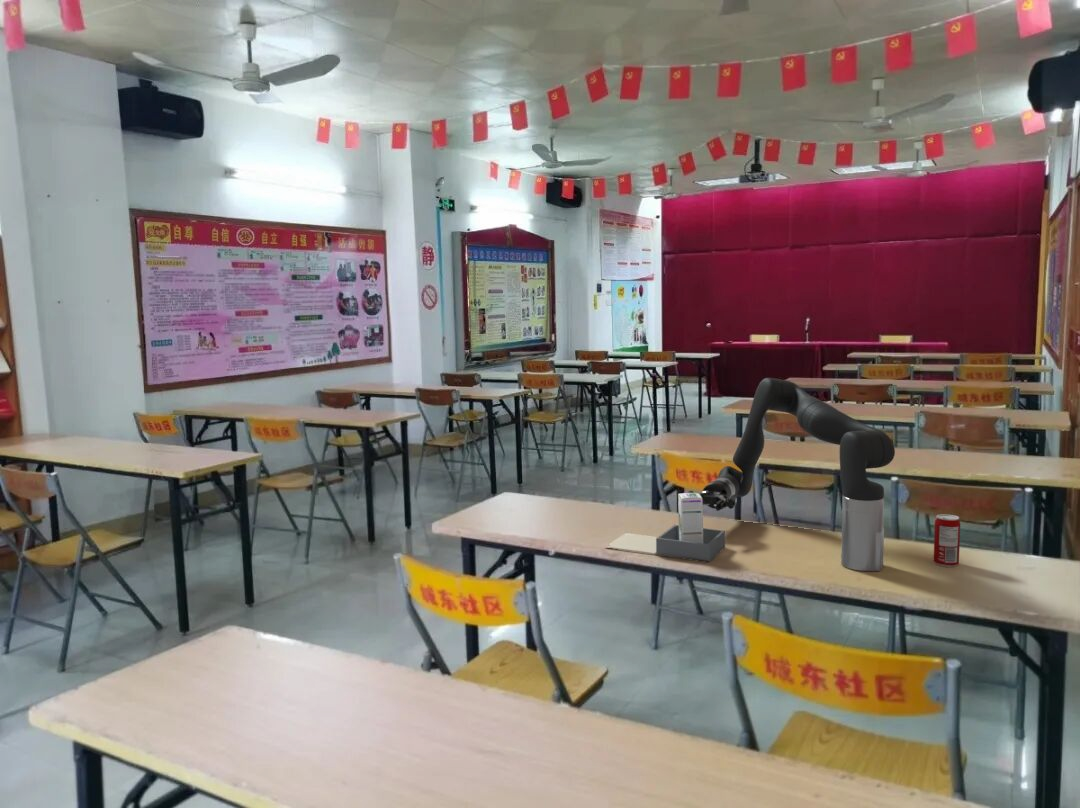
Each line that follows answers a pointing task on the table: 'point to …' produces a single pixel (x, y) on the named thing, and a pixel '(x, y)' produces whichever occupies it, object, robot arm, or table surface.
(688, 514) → the syrup box
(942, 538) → the soda can
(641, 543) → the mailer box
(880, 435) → the robot arm
